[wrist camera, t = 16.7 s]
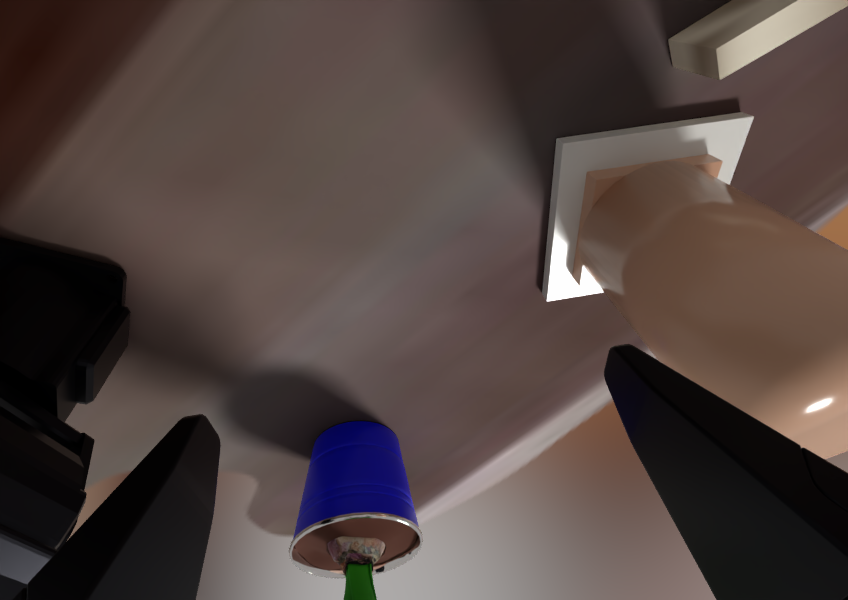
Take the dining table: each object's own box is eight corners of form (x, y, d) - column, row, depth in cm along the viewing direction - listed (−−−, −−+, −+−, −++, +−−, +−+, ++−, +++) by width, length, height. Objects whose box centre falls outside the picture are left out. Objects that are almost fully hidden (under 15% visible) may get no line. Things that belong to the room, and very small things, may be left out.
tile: (542, 293, 25) (547, 301, 25) (556, 138, 20) (563, 143, 19) (687, 270, 26) (696, 277, 25) (741, 112, 20) (754, 116, 20)
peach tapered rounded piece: (564, 283, 24) (702, 483, 15) (579, 164, 20) (787, 335, 10) (680, 265, 24) (889, 448, 15) (719, 144, 20) (1045, 292, 11)
